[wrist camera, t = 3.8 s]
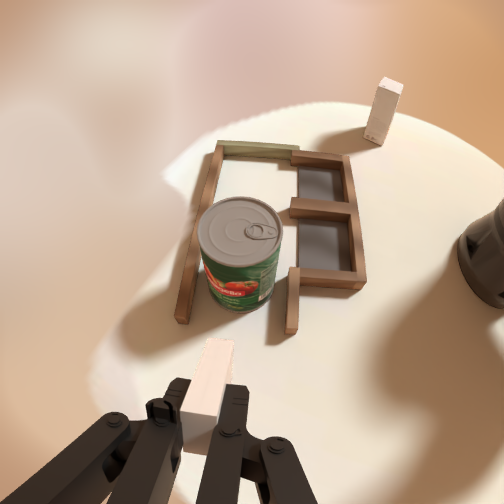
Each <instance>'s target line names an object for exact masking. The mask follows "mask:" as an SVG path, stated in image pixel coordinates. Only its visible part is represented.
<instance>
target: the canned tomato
mask: <svg viewBox="0 0 504 504" xmlns="http://www.w3.org/2000/svg"><path fill="white" fill-rule="evenodd" d="M282 236H283V226H282V222H281V219H280V217H279V216H278V214H277V212H276V211H275V210H274V209H273V208H272V207H271V206H269V205H268V204H266V203H265V202H262V201H260V200H258V199H254V198H251V197H231V198H227V199H224V200H221V201H219V202H217V203H215V204H213V205H212V206H210V207H209V208H208V209H207V210H206V211H205V212H204V213H203V215H202V216H201V218H200V220H199V222H198V225H197V239H198V242H199V246H200V251H201V256H202V260H203V264H204V268H205V272H206V277H207V281H208V285H209V291H210V293H211V296H212V298H213V299H214V300H215V302H216V303H217V304H218V305H219V306H221V307H222V308H224V309H225V310H228V311H231V312H236V313H247V312H252V311H254V310H257V309H259V308H260V307H262V306H263V305H264V304H265V303H266V302H267V301H268V300H269V298H270V297H271V295H272V292H273V289H274V282H275V276H276V270H277V264H278V258H279V252H280V246H281V240H282Z"/></svg>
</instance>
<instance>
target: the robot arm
mask: <svg viewBox="0 0 504 504" xmlns="http://www.w3.org/2000/svg"><path fill="white" fill-rule="evenodd" d="M458 259H459V263H460V266H461V269H462V272H463V274H464V276H465V278H466V280H467V282H468V283H469V285H470V287H471V288H472V289H473V291H474V292H475V293H476V294H477V295H478V296H479V297H480V298H481V299H482V300H483V301H485V302H486V303H488V304H489V305H491V306H493V307H496V308H504V198H503V200H502V201H501V202H500V204H499V205H498V206H497V208H496V209H495V210H494V211H492V212H491V213H489V214H487V215H485V216H484V217H482V218H480V219H478V220H477V221H475V222H473V223H472V224H470V225H469V226H468V227H467V229H466V230H465V231H464V232H463V234H462V235H461V237H460V239H459V242H458ZM233 350H234V340H225V339H216V338H208V340H207V342H206V345H205V347H204V350H203V352H202V355H201V357H200V360H199V363H198V365H197V368H196V370H195V373H194V375H193V378H192V380H190V379H183V378H176V379H174V380H173V381H172V382H170V384H169V387H168V389H167V391H166V393H165V395H164V397H163V398H156V399H152V400H150V401H148V402H147V403H146V411H147V417H148V419H146V420H140V421H129V419H128V417H127V416H126V415H124V414H123V413H119V412H110V413H107V414H105V415H103V416H102V417H101V418H100V419H99V420H98V421H96V422H95V423H94V424H93V425H92V426H91V427H89V428H88V429H87V430H86V431H85V432H84V433H82V435H80V436H79V437H78V438H77V439H76V440H75V441H73V442H72V443H71V444H70V445H69V446H67V447H66V448H65V449H64V450H63V451H61V452H60V453H59V454H58V455H57V456H56V457H54V458H53V459H52V460H51V461H50V462H49V463H47V464H46V465H45V466H44V467H43V468H41V469H40V470H39V471H38V472H37V473H36V474H34V475H33V476H32V477H31V478H29V479H28V480H27V481H26V482H25V483H23V484H22V485H21V486H20V487H18V488H17V489H16V490H15V491H14V492H12V493H11V494H10V495H9V496H7V497H6V498H5V499H4V500H3V501H1V502H0V504H101V503H102V502H103V501H104V499H105V498H106V497H107V496H108V495H109V494H110V493H111V492H112V493H111V495H110V497H109V499H108V502H107V504H168V501H169V497H170V494H171V491H172V488H173V484H174V481H175V478H176V475H177V471H178V468H179V465H180V462H181V450H182V447H183V452H188V453H194V454H200V455H206V456H207V458H206V462H205V466H204V470H203V475H202V479H201V483H200V487H199V491H198V496H197V500H196V504H237V502H238V494H239V486H240V478H241V477H242V478H244V479H247V480H250V481H253V482H255V485H256V489H257V493H258V496H259V500H260V504H318V503H317V501H316V499H315V496H314V494H313V492H312V490H311V487H310V485H309V483H308V480H307V478H306V476H305V473H304V471H303V468H302V466H301V464H300V461H299V459H298V457H297V454H296V452H295V449H294V447H293V445H292V444H291V442H290V441H289V440H287V439H285V438H282V437H269V438H267V439H265V440H261V439H258V438H255V437H253V436H252V435H250V434H249V432H248V431H247V429H246V422H247V413H248V402H249V391H248V389H247V387H246V386H243V385H233V384H231V380H232V367H233Z"/></svg>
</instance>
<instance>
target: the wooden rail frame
mask: <svg viewBox="0 0 504 504" xmlns="http://www.w3.org/2000/svg"><path fill="white" fill-rule="evenodd" d="M224 155H233V156H250V157H264V158H277V159H288V160H291V166H299V198H298V197H291V204H290V218H293V219H299V260H298V267H290V268H289V272H288V279H287V301H286V320H285V334H292V335H295V334H296V332H297V330H298V318H299V285H302V286H316V287H330V288H344V289H360V290H361V289H362V288H363V286H364V285H365V283H366V282H367V278H366V268H365V258H364V249H363V241H362V233H361V226H360V219H359V212H358V205H357V199H356V193H355V187H354V181H353V176H352V170H351V165H350V160H349V156H343V155H335V154H328V153H319V152H311V151H301V150H299V146H296V145H286V144H274V143H261V142H245V141H225V140H218V141H217V144H216V148H215V151H214V155H213V158H212V162H211V165H210V169H209V172H208V176H207V180H206V183H205V187H204V191H203V195H202V198H201V202H200V206H199V210H198V214H197V218H196V222H195V226H194V230H193V234H192V238H191V242H190V246H189V250H188V255H187V259H186V263H185V268H184V272H183V277H182V281H181V286H180V290H179V295H178V300H177V304H176V309H175V314H174V317H175V319H176V320H177V322H178V323H182V324H188V322H189V317H190V311H191V306H192V301H193V296H194V290H195V285H196V280H197V275H198V270H199V265H200V260H201V251H200V246H199V242H198V239H197V225H198V222H199V220H200V218H201V216H202V215H203V213H204V212H205V211H206V210H207V209H208V208H209V207H210V206H212V205H213V201H214V196H215V192H216V188H217V183H218V179H219V175H220V171H221V167H222V163H223V159H224Z"/></svg>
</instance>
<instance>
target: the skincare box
mask: <svg viewBox="0 0 504 504" xmlns="http://www.w3.org/2000/svg"><path fill="white" fill-rule="evenodd" d="M403 86H404V85H403V84H401V83H398V82H396V81H393V80H391V79H389V78H386V77H383V79H382V81H381V82H380V84H379V86H378V88H377V91H376V95H375V99H374V102H373V106H372V109H371V112H370V116H369V119H368V122H367V126H366V129H365V132H364V135H363V138H365V139H367V140H370V141H372V142H374V143H377V144H379V145H381V146H382V145H383V143H384V140H385V138H386V136H387V133H388V130H389V128H390V125H391V122H392V120H393V117H394V114H395V111H396V108H397V105H398V102H399V99H400V95H401V92H402V89H403Z"/></svg>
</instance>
